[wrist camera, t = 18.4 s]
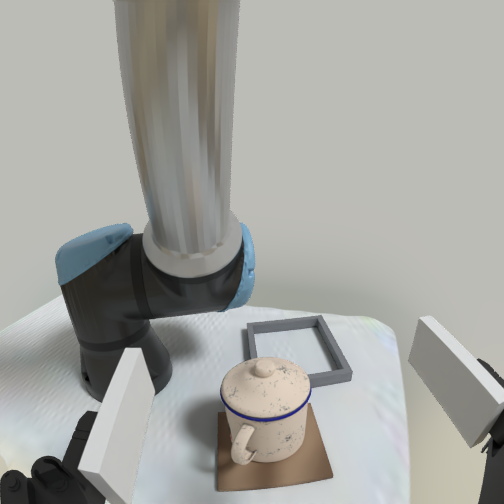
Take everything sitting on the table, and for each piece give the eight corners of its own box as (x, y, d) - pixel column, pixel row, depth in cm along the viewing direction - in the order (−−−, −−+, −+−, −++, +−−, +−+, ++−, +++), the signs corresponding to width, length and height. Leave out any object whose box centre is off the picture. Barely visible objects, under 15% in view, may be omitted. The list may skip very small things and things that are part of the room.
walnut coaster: (218, 491, 23) (217, 489, 23) (218, 415, 35) (218, 412, 35) (332, 477, 24) (333, 475, 24) (310, 405, 35) (310, 402, 35)
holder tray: (254, 394, 38) (254, 385, 38) (247, 331, 55) (246, 323, 54) (350, 380, 39) (352, 371, 39) (321, 323, 55) (321, 315, 55)
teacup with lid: (248, 402, 36) (241, 331, 33) (315, 417, 33) (322, 345, 29) (202, 468, 26) (179, 401, 22) (282, 495, 22) (284, 434, 19)
